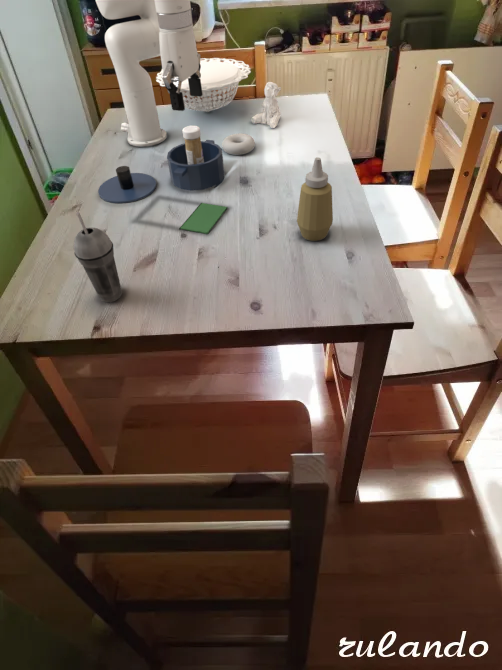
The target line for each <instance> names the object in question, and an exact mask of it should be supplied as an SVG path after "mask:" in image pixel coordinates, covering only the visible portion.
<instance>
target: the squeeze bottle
mask: <svg viewBox="0 0 502 670" xmlns="http://www.w3.org/2000/svg"><path fill="white" fill-rule="evenodd" d="M299 193H300V194H299V200H298V209H297V216H296V222H297V226H298V228H299V232H300V234H301V237H302V238H303V239H305V240H308V241H311V242H316V241H321V240H323V239H325V238H326V237H327V236H328V234H329V232H330V229H331V227H332V225H333V221H334V213H333V212H334V211H333V210H334V209H333V208H334V207H333V186H332V185H331V183H330V182H329V174H328V173H327V172H326V171H324V170H323V165H322V158H321V157H318V156H317V157H314V160H313V165H312V168H311V171H309V172H307V173H306V174H305V182H303V184H301V187H300V192H299Z"/></svg>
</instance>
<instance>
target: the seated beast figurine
mask: <svg viewBox="0 0 502 670" xmlns="http://www.w3.org/2000/svg"><path fill="white" fill-rule="evenodd" d="M281 90H282V86H279V85H278V84H277V83H275V82H272V81H268V82H267V81H266V84H265V86H264V89H263V91H264V92H263V94H264V96H265V98H264V99H263V101H262V104H261V106H262V108H263V109H262V112H260V113H256V114H254V115H253V116H252V117H251V123H252V124H254V125H255V124H264V125H268V126H270V127H269V128H271V129H275V128H276V127H277V125H278V124H279V121H280V118H281V116H282V113H281V109H280V106H279V102H278V100H277V98H276V97H277V96H278V94H279V93H280V91H281Z"/></svg>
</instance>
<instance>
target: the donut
mask: <svg viewBox="0 0 502 670" xmlns="http://www.w3.org/2000/svg"><path fill="white" fill-rule="evenodd" d="M255 146H256V141H255V138H254V137H253V136H252V135H250V134H248V133H242V132H241V133H240V132H239V133H232V134H230V135H227V136H226V137H225V138H224V139H223V140H222V142H221V148H222V151H224V152H225V153H227V154H229V155H233V156H243V155H246V154H248V153H250V152H251V151H252V150H254V148H255Z"/></svg>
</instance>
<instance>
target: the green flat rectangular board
mask: <svg viewBox="0 0 502 670" xmlns="http://www.w3.org/2000/svg"><path fill="white" fill-rule="evenodd" d="M227 210H228V206H225V205H224V206H223V205H219V204H213V203H212V204H211V203H204V202H200V203H199V205H198V206H197V207H196V208H195V209H194V211H193V212H192V213H191V214H190V215H189V216H188V217H187V219H186V220H185V221H184V222H183V223H182V224H181V226H180V227H179V228H178V230H182V231H189V232H194V233H197V234H198V233H200V234H205V235H209V233H210V231H211V230H212V229H213V228H214V226H215V225H216V224H217V222H218V221H219V220H220V219H221V217H223V215H224V213H225V212H226V211H227Z"/></svg>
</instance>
